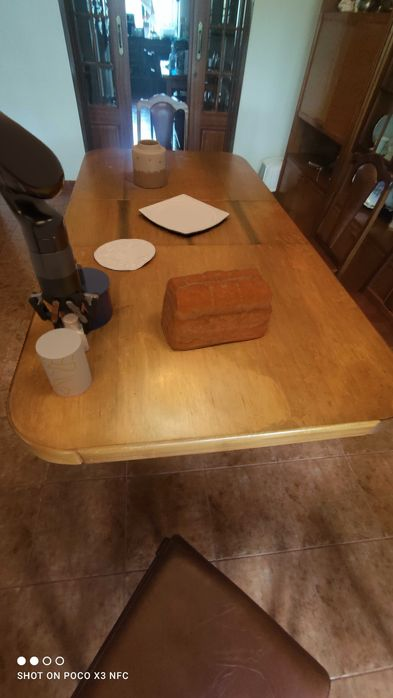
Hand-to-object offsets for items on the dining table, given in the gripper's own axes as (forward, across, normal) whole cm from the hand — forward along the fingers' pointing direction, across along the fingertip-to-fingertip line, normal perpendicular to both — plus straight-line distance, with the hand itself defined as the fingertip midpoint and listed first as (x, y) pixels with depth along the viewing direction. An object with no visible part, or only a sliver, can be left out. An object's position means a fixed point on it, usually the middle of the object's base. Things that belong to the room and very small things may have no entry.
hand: (74, 331), depth 72 cm
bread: (+6, +33, +7) cm, 34 cm away
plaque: (+6, +8, +43) cm, 44 cm away
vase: (+5, +14, +109) cm, 110 cm away
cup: (+6, 0, -10) cm, 11 cm away
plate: (+5, +29, +72) cm, 77 cm away
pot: (+5, 0, +12) cm, 14 cm away
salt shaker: (+6, 0, 0) cm, 6 cm away
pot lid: (-4, 0, +12) cm, 13 cm away
